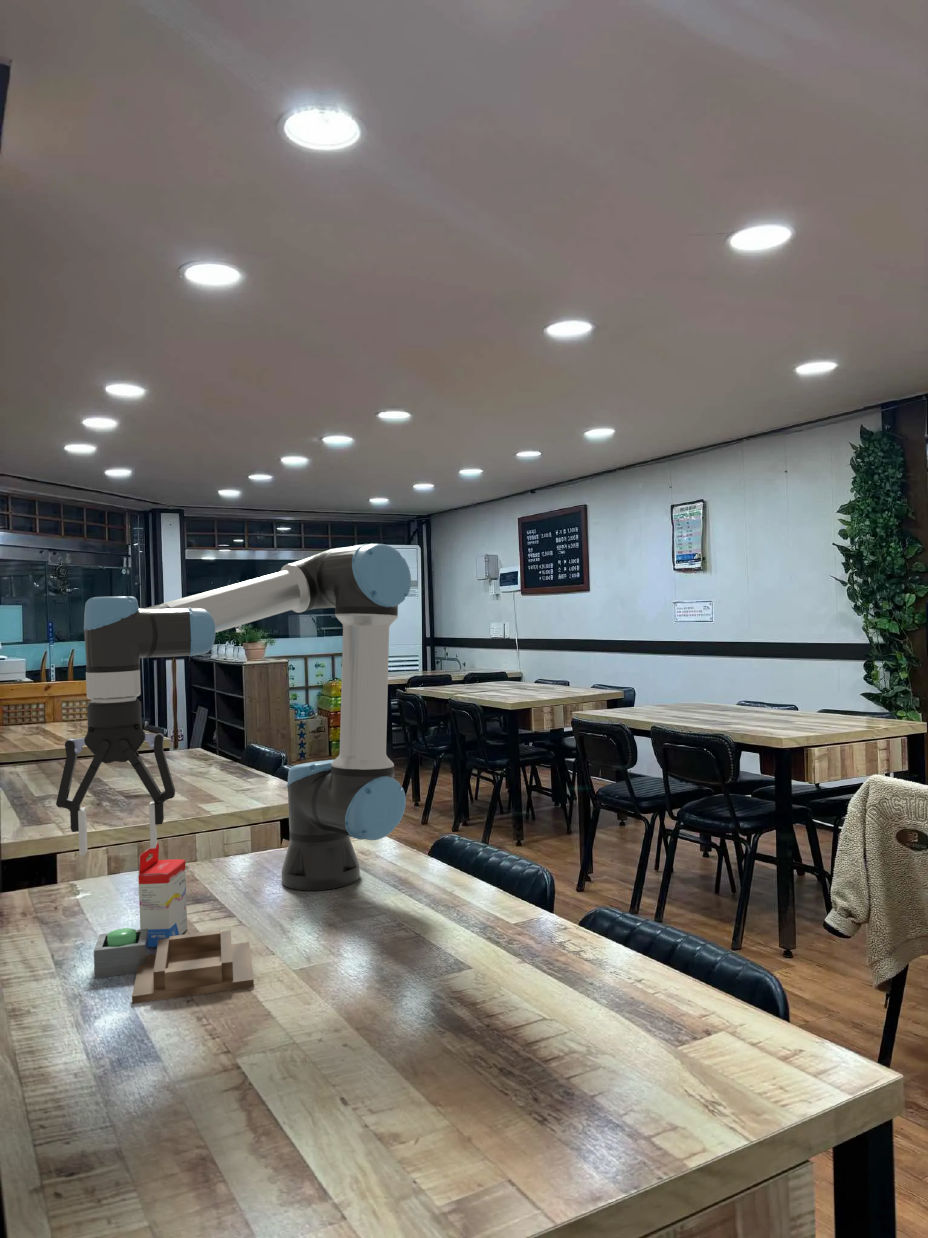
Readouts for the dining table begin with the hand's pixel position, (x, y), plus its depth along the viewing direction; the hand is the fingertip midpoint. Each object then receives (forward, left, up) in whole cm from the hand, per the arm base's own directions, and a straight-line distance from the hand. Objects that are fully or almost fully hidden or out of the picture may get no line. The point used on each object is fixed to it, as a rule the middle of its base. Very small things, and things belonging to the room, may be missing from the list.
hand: (118, 849), depth 133 cm
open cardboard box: (-10, +7, -18) cm, 22 cm away
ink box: (-5, -10, -18) cm, 21 cm away
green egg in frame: (0, 0, -18) cm, 18 cm away
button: (0, 0, -15) cm, 15 cm away
